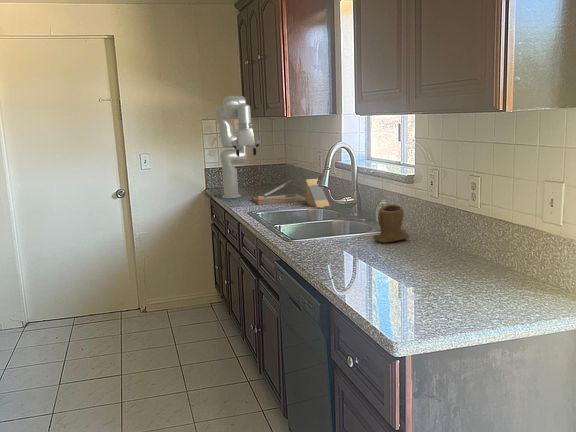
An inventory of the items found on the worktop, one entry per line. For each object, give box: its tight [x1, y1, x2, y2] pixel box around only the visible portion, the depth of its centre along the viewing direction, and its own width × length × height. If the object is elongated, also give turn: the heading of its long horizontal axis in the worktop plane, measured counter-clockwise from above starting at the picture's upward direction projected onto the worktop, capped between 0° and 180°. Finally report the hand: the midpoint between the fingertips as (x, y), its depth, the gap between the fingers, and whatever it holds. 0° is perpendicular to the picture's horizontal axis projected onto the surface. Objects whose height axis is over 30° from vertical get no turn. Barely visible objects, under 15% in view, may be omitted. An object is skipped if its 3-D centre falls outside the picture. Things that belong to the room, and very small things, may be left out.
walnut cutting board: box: [251, 193, 306, 206], centre depth 360 cm, size 19×30×2 cm, turn 106°
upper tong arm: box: [262, 179, 294, 197], centre depth 359 cm, size 20×4×2 cm, turn 106°
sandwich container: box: [305, 178, 330, 208], centre depth 334 cm, size 9×15×15 cm, turn 22°
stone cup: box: [372, 204, 410, 243], centre depth 236 cm, size 15×12×15 cm
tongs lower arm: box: [263, 193, 296, 199], centre depth 360 cm, size 23×4×1 cm, turn 106°
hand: (246, 155), depth 337 cm, fingers open, 9 cm apart
